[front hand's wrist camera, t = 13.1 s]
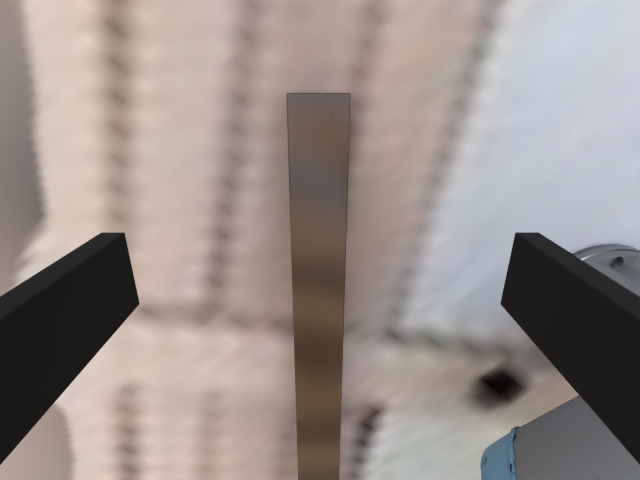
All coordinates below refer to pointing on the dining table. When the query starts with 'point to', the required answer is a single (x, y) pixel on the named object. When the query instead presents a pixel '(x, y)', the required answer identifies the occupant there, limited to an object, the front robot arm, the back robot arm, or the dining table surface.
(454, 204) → the dining table surface
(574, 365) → the front robot arm
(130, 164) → the dining table surface
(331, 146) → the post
